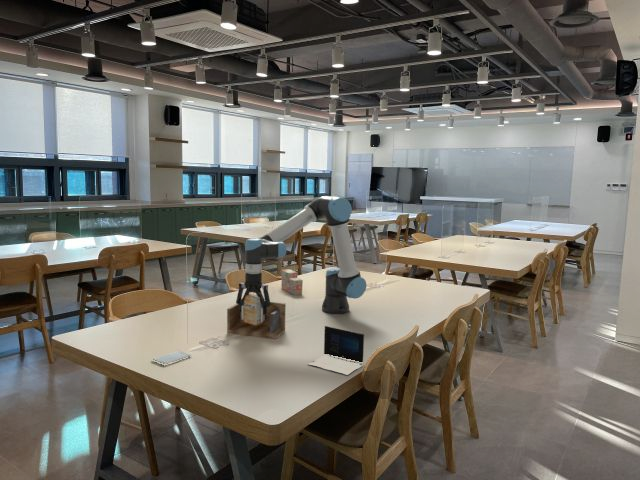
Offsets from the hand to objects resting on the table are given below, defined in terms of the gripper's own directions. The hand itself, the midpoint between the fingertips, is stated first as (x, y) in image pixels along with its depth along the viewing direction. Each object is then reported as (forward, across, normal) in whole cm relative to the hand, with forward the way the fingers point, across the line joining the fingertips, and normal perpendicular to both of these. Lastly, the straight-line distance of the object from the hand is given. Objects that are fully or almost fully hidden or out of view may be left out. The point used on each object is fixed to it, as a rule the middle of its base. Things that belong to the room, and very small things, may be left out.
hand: (253, 319), depth 220 cm
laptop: (+7, +46, -25) cm, 53 cm away
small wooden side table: (+6, +1, +1) cm, 6 cm away
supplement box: (+2, 0, 0) cm, 2 cm away
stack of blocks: (+6, -12, +84) cm, 85 cm away
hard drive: (+7, -16, -41) cm, 45 cm away
